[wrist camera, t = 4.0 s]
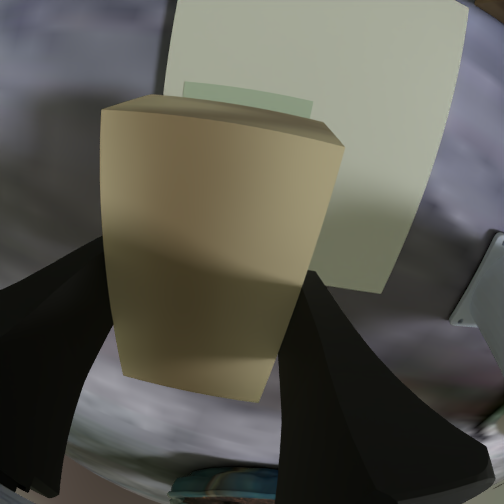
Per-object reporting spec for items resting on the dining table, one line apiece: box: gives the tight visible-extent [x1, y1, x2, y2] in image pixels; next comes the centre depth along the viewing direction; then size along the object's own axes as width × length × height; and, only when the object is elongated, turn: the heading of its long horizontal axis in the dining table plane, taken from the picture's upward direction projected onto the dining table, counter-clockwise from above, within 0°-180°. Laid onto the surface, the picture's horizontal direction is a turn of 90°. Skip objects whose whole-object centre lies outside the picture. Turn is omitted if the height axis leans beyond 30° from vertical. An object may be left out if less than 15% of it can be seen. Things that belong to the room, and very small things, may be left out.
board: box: [163, 0, 469, 294], centre depth 14 cm, size 14×18×1 cm
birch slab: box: [100, 94, 345, 403], centre depth 9 cm, size 5×9×3 cm, turn 170°
